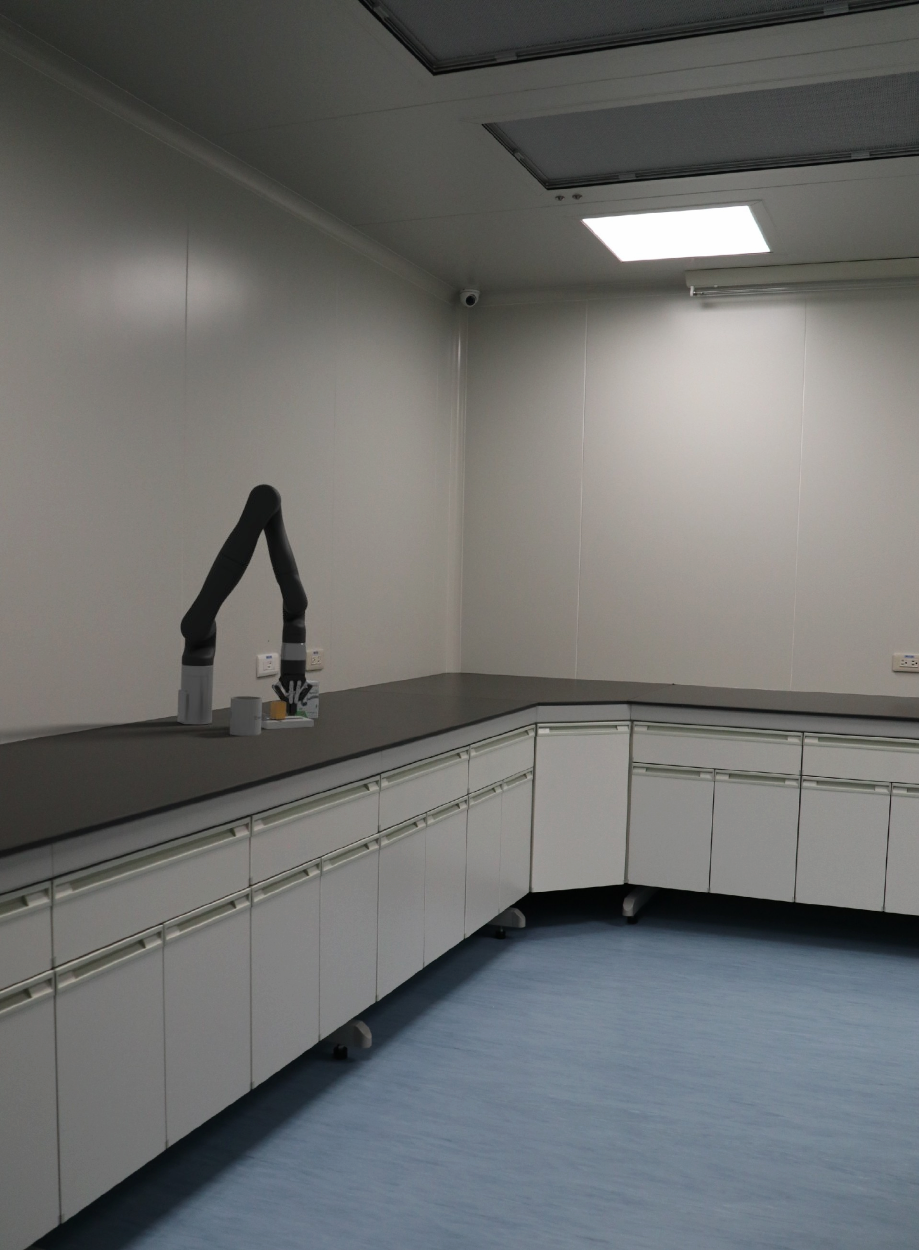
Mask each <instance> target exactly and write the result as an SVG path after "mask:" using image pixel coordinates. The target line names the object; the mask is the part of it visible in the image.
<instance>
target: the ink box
mask: <svg viewBox="0 0 919 1250" xmlns="http://www.w3.org/2000/svg"><path fill="white" fill-rule="evenodd" d="M306 681H307V682H308V683H309V684H311V685H313V687H312V689H311V690H310V691H309V693H308V694H307V696H306V697H305V698H304V700H303V701H299V702H298V703H297V713H296V714H295V716H301V717H305V718H308V719H312V720H313V719H318V718H319V701H320V700H319V698H320V697H319V696H320V682H319V681H318V680H311V679H306ZM302 689H303V687H302V688H301V690H302ZM301 690H300V692H301Z"/></svg>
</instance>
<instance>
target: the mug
mask: <svg viewBox="0 0 919 1250" xmlns="http://www.w3.org/2000/svg"><path fill="white" fill-rule="evenodd" d="M262 704H263V698H262V697H260V696H254V695H253V696H250V695H246V696H245V695H243V696H241V695H239V696H237V695H236V696H231V697H230V707H229V708H230V709H229V710H230V711H229V713H230V714H229V716H230V717H229V734H230V735H231V736H232V735H233V736H238V737H239V736H240V737H242V736H243V737H248V736H249V737H250V736H251V737H252V736H260V735H261V734H262V727H261V714H262V713H263V712H262V708H263V705H262Z"/></svg>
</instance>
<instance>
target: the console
mask: <svg viewBox="0 0 919 1250" xmlns="http://www.w3.org/2000/svg"><path fill="white" fill-rule="evenodd" d="M314 725H315V720H314V719H313V718H312V719H308V718H305V717H301V716H288V715H287V716H286V715H285V719H274V718H271V717H270V716H268V713H265V712H262V714H261V729H265V730H277V729H298V728H314Z"/></svg>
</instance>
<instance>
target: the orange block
mask: <svg viewBox="0 0 919 1250" xmlns="http://www.w3.org/2000/svg"><path fill="white" fill-rule="evenodd" d="M269 713H270V715H269V717H271V718H274V719H285V716H286V714H287V713H286V702H284V701H281V700H272V701H270V712H269Z"/></svg>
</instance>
